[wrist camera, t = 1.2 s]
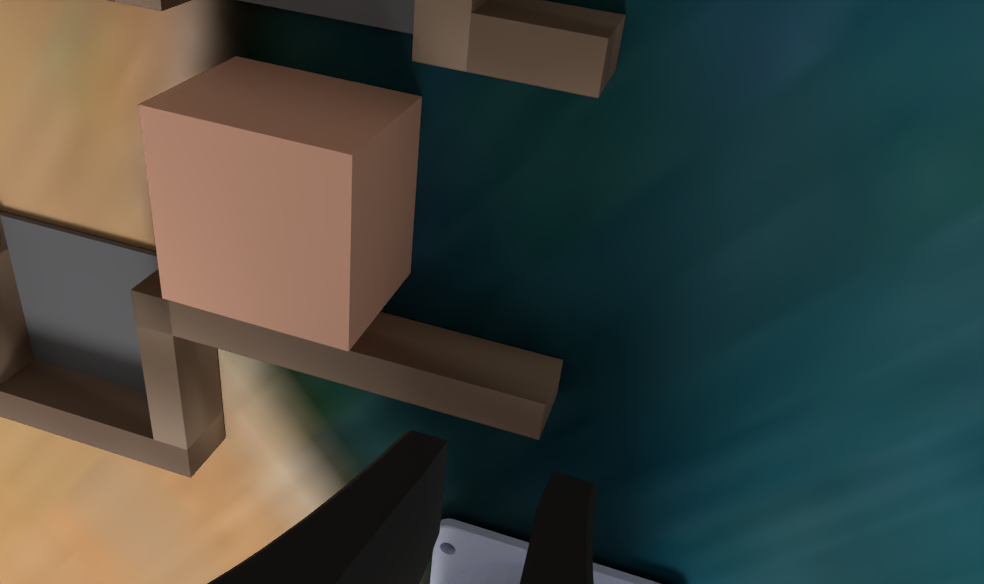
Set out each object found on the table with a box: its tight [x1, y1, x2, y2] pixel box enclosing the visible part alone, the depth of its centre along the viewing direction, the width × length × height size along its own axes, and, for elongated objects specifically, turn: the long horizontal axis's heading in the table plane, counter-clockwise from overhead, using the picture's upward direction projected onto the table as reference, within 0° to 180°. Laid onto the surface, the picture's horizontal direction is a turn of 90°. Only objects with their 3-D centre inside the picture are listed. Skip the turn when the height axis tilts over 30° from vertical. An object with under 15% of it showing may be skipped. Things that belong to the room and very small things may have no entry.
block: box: [138, 56, 422, 352], centre depth 21 cm, size 5×5×4 cm
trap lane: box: [0, 0, 626, 478], centre depth 23 cm, size 22×31×3 cm
